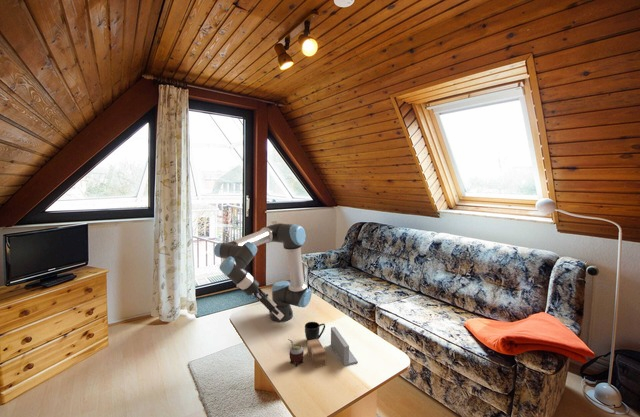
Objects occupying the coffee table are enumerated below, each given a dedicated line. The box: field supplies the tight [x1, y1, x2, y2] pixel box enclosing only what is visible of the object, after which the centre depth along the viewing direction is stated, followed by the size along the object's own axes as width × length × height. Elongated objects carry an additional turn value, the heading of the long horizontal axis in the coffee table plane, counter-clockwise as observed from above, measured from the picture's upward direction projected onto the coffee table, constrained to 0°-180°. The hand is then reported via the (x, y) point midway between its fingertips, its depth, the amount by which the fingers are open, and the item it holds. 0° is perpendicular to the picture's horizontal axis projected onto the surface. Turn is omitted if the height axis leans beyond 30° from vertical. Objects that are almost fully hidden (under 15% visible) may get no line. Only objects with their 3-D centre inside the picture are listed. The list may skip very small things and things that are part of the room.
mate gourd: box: [287, 338, 304, 367], centre depth 142 cm, size 8×8×15 cm
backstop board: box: [330, 326, 358, 367], centre depth 151 cm, size 19×7×10 cm, turn 18°
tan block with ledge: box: [306, 338, 327, 368], centre depth 146 cm, size 12×6×7 cm, turn 18°
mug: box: [304, 321, 326, 342], centre depth 162 cm, size 8×12×10 cm
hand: (278, 311), depth 140 cm, fingers open, 13 cm apart
